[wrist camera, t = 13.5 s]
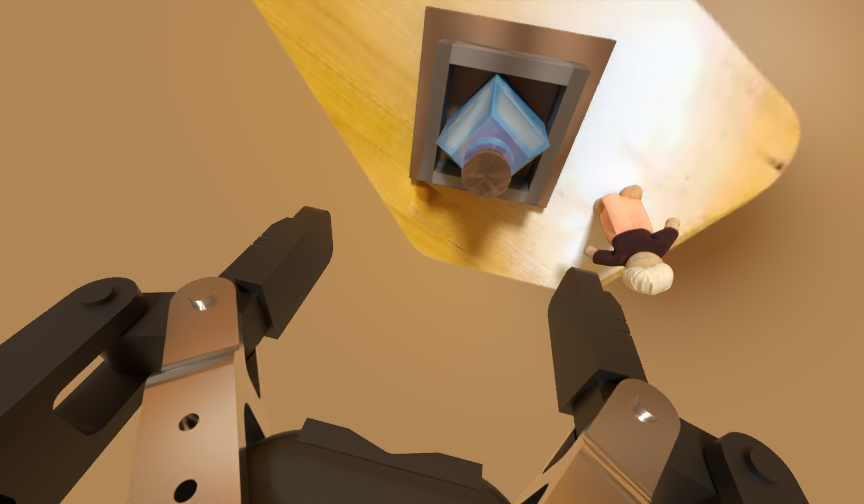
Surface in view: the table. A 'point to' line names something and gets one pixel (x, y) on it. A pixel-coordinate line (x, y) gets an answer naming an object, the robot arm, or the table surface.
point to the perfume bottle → (493, 136)
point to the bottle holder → (527, 70)
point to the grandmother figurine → (634, 241)
